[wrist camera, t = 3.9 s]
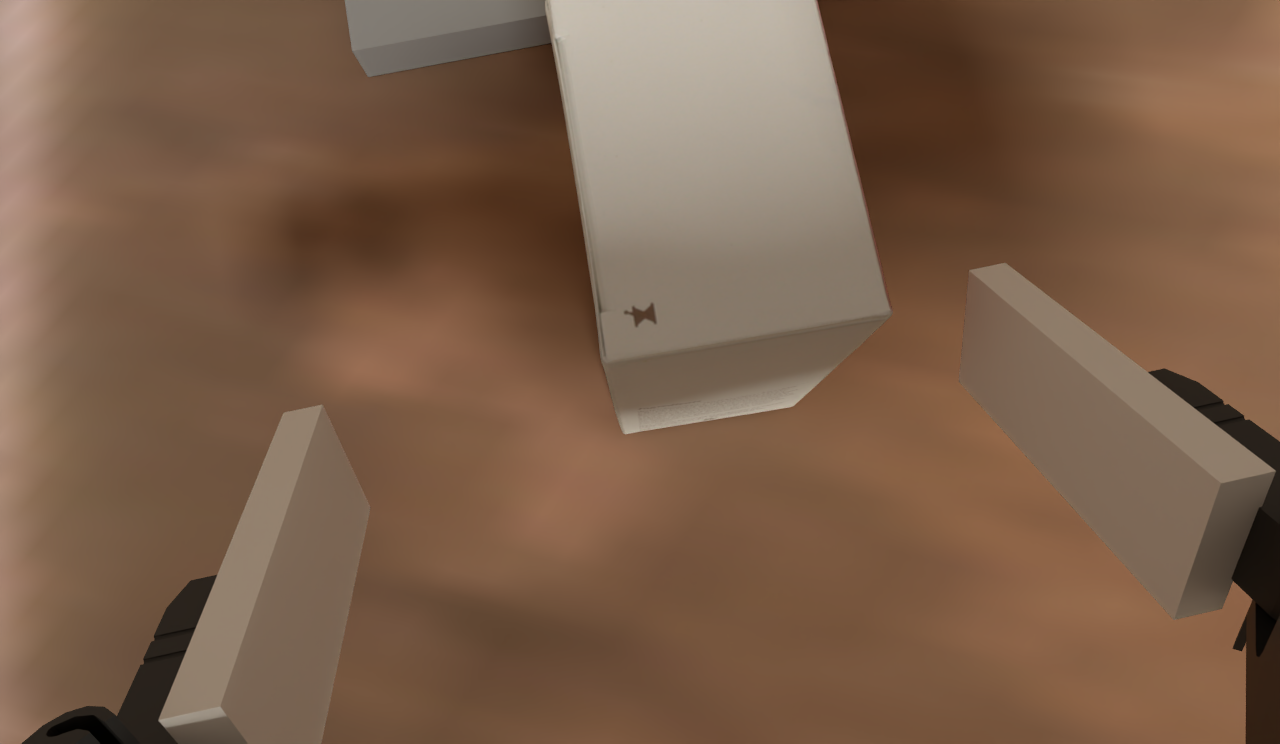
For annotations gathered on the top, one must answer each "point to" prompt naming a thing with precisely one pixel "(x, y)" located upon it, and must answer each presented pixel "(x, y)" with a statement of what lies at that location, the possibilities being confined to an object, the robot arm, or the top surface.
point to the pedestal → (440, 30)
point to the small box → (714, 203)
